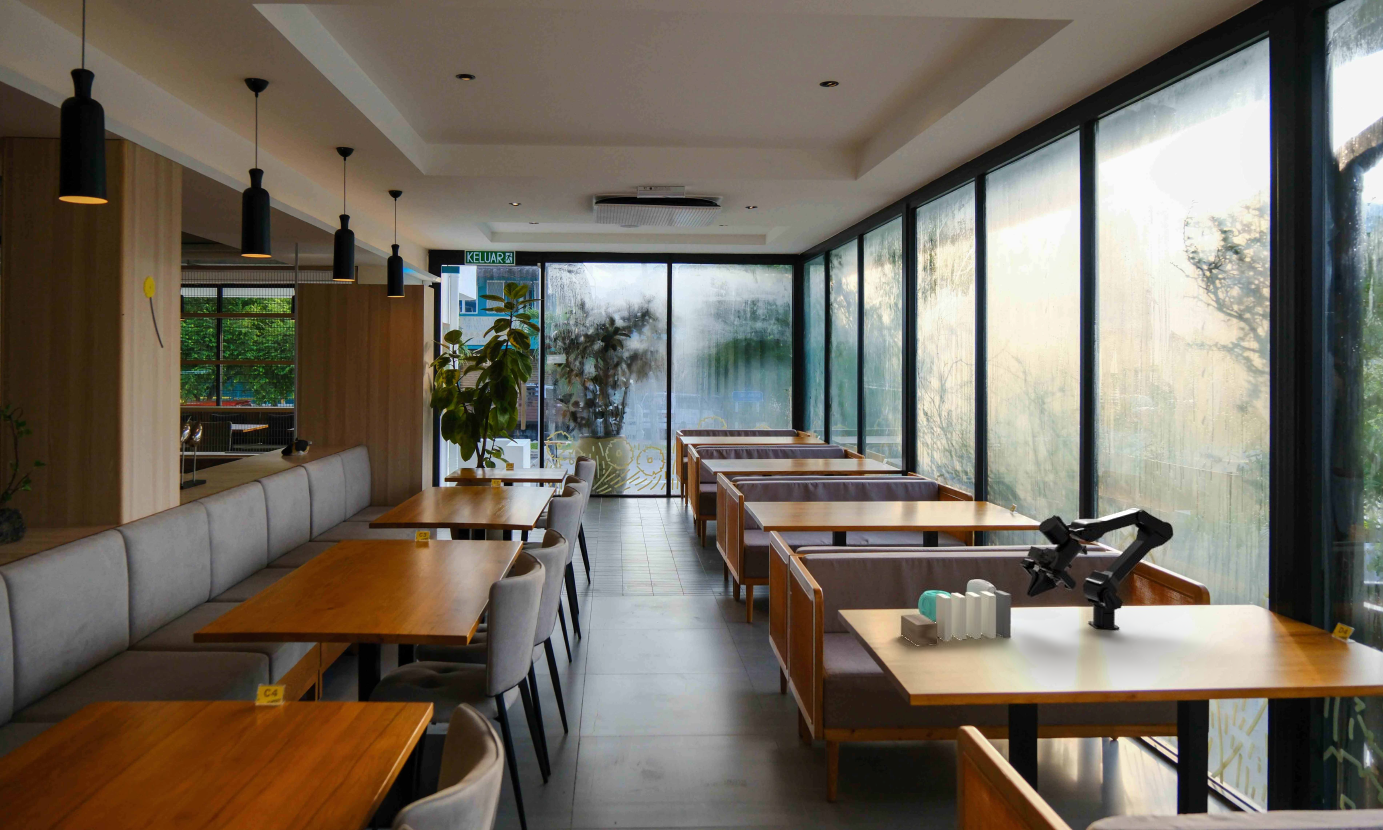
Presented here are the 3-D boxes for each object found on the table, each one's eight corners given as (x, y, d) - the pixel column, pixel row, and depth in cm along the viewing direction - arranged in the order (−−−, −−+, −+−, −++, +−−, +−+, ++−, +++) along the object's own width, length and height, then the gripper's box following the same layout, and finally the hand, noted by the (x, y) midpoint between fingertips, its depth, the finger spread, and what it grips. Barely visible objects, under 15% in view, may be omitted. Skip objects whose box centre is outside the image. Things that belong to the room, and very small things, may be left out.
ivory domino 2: (957, 634, 238) (957, 592, 238) (966, 639, 233) (966, 596, 233) (950, 634, 238) (950, 593, 238) (959, 640, 233) (959, 597, 233)
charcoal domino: (1000, 631, 241) (1000, 590, 240) (1010, 636, 236) (1010, 594, 236) (993, 632, 240) (994, 590, 240) (1004, 637, 235) (1004, 594, 235)
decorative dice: (956, 620, 253) (956, 594, 253) (938, 624, 249) (938, 597, 248) (935, 614, 260) (935, 588, 259) (917, 618, 255) (917, 592, 255)
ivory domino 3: (971, 633, 239) (972, 591, 239) (981, 638, 234) (981, 596, 234) (965, 634, 239) (965, 592, 238) (974, 639, 234) (974, 596, 233)
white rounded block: (964, 617, 256) (964, 577, 256) (976, 615, 258) (976, 576, 257) (987, 626, 247) (987, 584, 246) (999, 624, 248) (999, 583, 248)
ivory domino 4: (986, 632, 240) (986, 591, 240) (995, 637, 235) (995, 595, 235) (979, 633, 240) (980, 591, 239) (989, 638, 235) (989, 595, 234)
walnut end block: (920, 634, 239) (920, 613, 239) (937, 644, 229) (937, 623, 229) (900, 635, 238) (901, 615, 238) (916, 645, 228) (916, 624, 228)
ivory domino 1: (942, 635, 237) (942, 593, 237) (951, 640, 232) (951, 597, 232) (936, 635, 237) (936, 593, 237) (944, 641, 232) (944, 598, 232)
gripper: (1025, 531, 250) (992, 570, 247) (1067, 542, 231) (1031, 584, 229) (1048, 556, 252) (1015, 594, 249) (1091, 569, 233) (1056, 610, 231)
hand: (1028, 595), depth 240 cm, fingers closed
